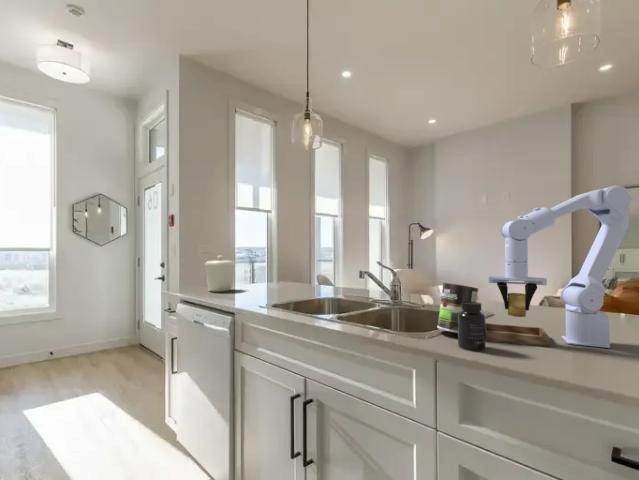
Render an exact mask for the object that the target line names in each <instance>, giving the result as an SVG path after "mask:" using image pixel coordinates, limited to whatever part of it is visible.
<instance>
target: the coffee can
mask: <svg viewBox="0 0 639 480" xmlns="http://www.w3.org/2000/svg"><path fill="white" fill-rule="evenodd" d="M478 292H479V287H478V288H477V287H473V286H468V285H462V284H456V283H449V282H448V283H447V282H442V290H441V296H440V297H441V299H440V305H439V311H438V321H437V326H436V328H437V329H439V330H442V331H445V332H450V333H454V334H458V314H459V313H460V312H462V311H463V310H462V309H461V307H462V302H465V301H472V302H477V299H478Z"/></svg>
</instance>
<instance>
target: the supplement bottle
mask: <svg viewBox="0 0 639 480" xmlns="http://www.w3.org/2000/svg"><path fill="white" fill-rule="evenodd" d="M461 309H462V310H463V311H462V312H460V313H459V314H458V333H457V345H458V347H459V348H460V349H463V350H466V351H472V352H481V351H484V350H485V349H486V348H487V347H486V346H487V345H486V344H487V341H486V323H487V322H486V316H485V314H484V313H482V312H481V311H482V303H481V302H479V301H476V302H472V301H465V302H462V307H461Z"/></svg>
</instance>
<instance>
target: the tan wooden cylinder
mask: <svg viewBox="0 0 639 480" xmlns="http://www.w3.org/2000/svg"><path fill="white" fill-rule="evenodd" d="M507 299H508V309H507V315H508V316H510V317H515V318H524V317H526V316H527V311H526V294H525V293H522V292H521V293H520V292H508V293H507Z"/></svg>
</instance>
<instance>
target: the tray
mask: <svg viewBox="0 0 639 480" xmlns="http://www.w3.org/2000/svg"><path fill="white" fill-rule="evenodd" d="M486 342H495V343H506V344H515V345H524V346H533V347H534V346H535V347H542V348H543V347H545V348H550V345H551V343H550V336H549V335H548V334H547V333H546V331H545V330H544V328H543V327H538V326H536V327H535V326H524V325H515V324H514V325H513V324H512V325H510V324H499V323H488V322H486Z"/></svg>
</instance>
